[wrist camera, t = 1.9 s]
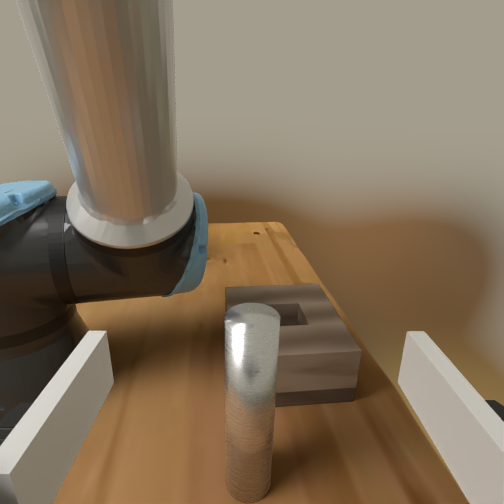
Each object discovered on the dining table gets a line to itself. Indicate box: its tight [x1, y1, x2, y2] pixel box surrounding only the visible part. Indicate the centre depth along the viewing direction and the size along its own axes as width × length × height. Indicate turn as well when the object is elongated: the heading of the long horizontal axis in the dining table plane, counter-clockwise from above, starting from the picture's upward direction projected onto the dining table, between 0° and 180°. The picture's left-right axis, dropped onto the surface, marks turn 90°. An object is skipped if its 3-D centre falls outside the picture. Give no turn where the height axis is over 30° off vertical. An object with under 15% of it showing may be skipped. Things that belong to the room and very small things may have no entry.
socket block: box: [225, 284, 362, 407], centre depth 46 cm, size 16×14×7 cm
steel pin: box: [225, 303, 280, 503], centre depth 28 cm, size 4×4×17 cm
